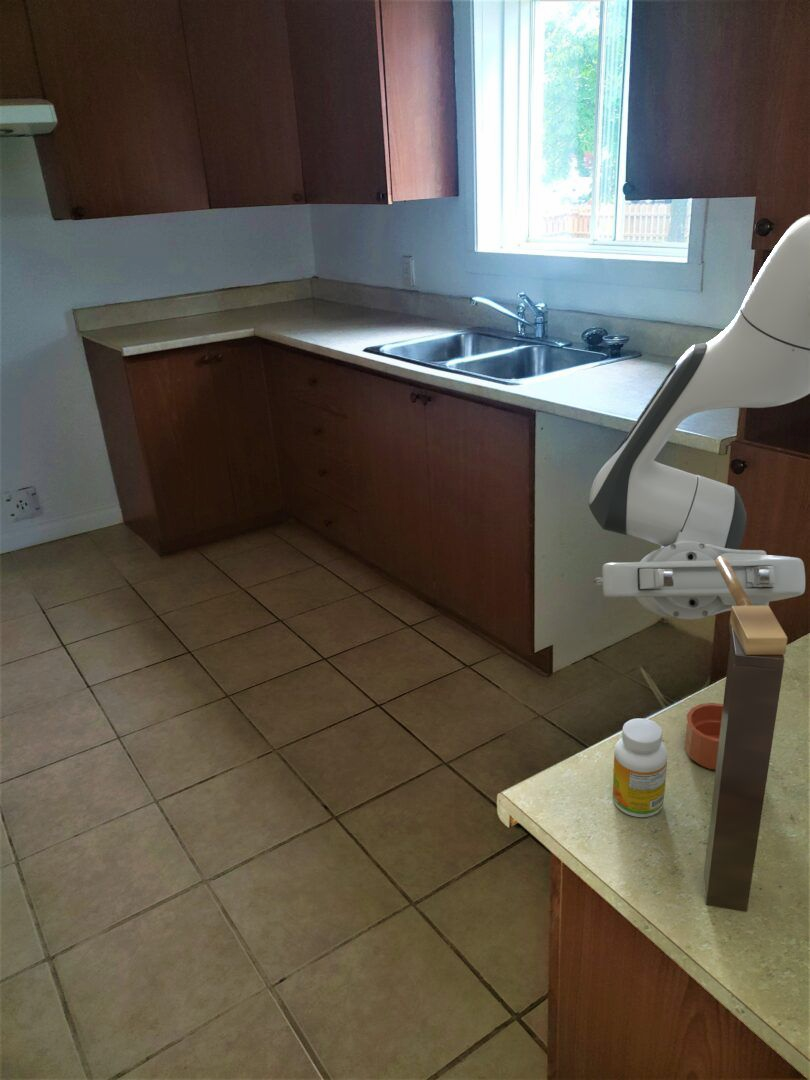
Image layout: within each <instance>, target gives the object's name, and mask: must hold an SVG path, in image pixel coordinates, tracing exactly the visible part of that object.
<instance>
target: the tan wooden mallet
mask: <svg viewBox="0 0 810 1080" xmlns="http://www.w3.org/2000/svg"><path fill="white" fill-rule="evenodd" d="M715 564H716V566H717V568H718V570H719V571H720V573H721V575H722V577H723V579H724V581H725V583H726V585H727V587H728V589H729V591H730V593H731V595H732V597H733V599H734V601H735V602H736V604H737V606H732V607H731V611H730V617H729V622H730V623H731V625H732V627H733V629H734V631H735V634H736V636H737V638H738V640H739V642H740V644H741V646H742V648H743V650H744V652H745V654H746V655H784V656H785V655H786V651H787V646H788V645H787V644H788V636H787V634H786V632H785V631H784V629H783V628H782V625H781V624H780V622H779V621H778V619H777V617H776V615H775V614H774V612H773V611H772V609H771V607H770V605H768V606H752V604H751V602H750V600H749V598H748V596H747V595H746V593H745V591H744V589H743V587H742V586H741V584H740V582H739V580H738V578H737V576H736V575H735V573H734V571H733V569H732V567H731V566H730V564H729V562H728V560H727V558H726V557H724V556H719V557H717V558H716V560H715Z"/></svg>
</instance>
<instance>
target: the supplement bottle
mask: <svg viewBox="0 0 810 1080" xmlns="http://www.w3.org/2000/svg"><path fill="white" fill-rule="evenodd" d="M613 753H614V754H613V755H614V756H613V759H614V760H613V776H612V777H613V778H612V799H613V802H614V805H615V806H616V807H617V808H618V810H620V811H621V812H622V813H624V814H626V815H627V816H631V817H633V818H634V817H635V818H648V817H652V816H654V815H656V814H658V813H659V812H660V811H661V810H662V808H663V806H664V802H665V791H666V781H667V779H666V778H667V769H668V768H667V767H668V751H667V748H666V746H665V744H664V743H663V729H662V727H661V726H660V725H659V723H657V722H655V721H653V720H651V719H647V718H641V717H640V718H639V717H637V718H632V719H629V720H628V721H626V722H625V723H623V726H622V731H621V737H620V738H619V739H618V740H617V742H616V743H615V746H614V752H613Z"/></svg>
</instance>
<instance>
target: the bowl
mask: <svg viewBox="0 0 810 1080" xmlns="http://www.w3.org/2000/svg"><path fill="white" fill-rule="evenodd" d="M722 710H723V703H718V702H717V703H716V702H707V703H701V704H698V705H695V706H693V707H692V708H690V710H689V711H688V713H687V714H686V719H685V731H684V739H683V741H684V742H683V743H684V744H683V746H684V751H685V752H686V755H688V757H689V758H690V759H691V760H693V761H694V762H695V763H696V764H698V765H699V766H702V767H704V768H706V769H709V770H713V771H716V763H717V754H718V746H719V737H720V728H721V719H722Z"/></svg>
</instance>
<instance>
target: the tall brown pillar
mask: <svg viewBox="0 0 810 1080" xmlns="http://www.w3.org/2000/svg"><path fill="white" fill-rule="evenodd" d="M728 628H729V635H730V640H729V648H728V649H729V651H728V658H727V667H726V676H725V683H724V684H725V686H724V693H723V703H722V704H723V710H722V719H721V728H720V737H719V746H718V754H717V763H716V770H715V772H714V773H715V774H714V782H713V790H712V799H711V808H710V816H709V826H708V833H707V834H708V835H707V842H706V843H707V844H706V852H705V861H704V869H703V875H704V893H705V895H704V896H705V905H706V906H711V907H718V908H722V909H729V910H735V911H740V912H741V911H742V912H745V913H746V912H748V908H749V901H750V894H751V890H752V889H751V887H752V882H753V881H752V880H753V875H754V867H755V862H756V861H755V860H756V855H757V848H758V843H759V841H758V840H759V835H760V829H761V821H762V816H763V815H762V814H763V808H764V799H765V793H766V787H767V781H768V775H769V767H770V760H771V754H772V747H773V741H774V734H775V727H776V722H777V721H776V720H777V714H778V706H779V701H780V693H781V687H782V679H783V675H784V674H783V673H784V666H785V655H746V654H745V652H744V650H743V648H742V646H741V644H740V642H739V640H738V638H737V636H736V634H735V631H734V629H733V627H732V625H731V623H730V621H729V623H728Z"/></svg>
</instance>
